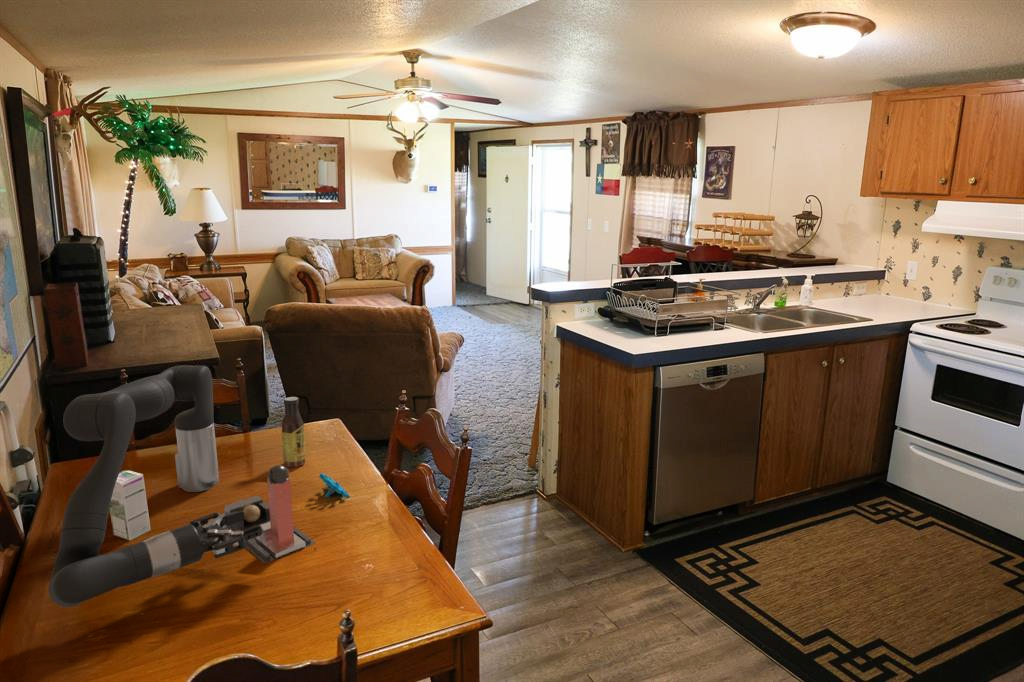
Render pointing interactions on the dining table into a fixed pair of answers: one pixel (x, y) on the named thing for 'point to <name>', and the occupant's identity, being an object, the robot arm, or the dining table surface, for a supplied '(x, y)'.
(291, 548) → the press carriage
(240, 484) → the dining table surface
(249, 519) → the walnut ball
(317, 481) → the dining table surface
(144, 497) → the syrup box
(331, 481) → the gear
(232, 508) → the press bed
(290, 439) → the sauce bottle
